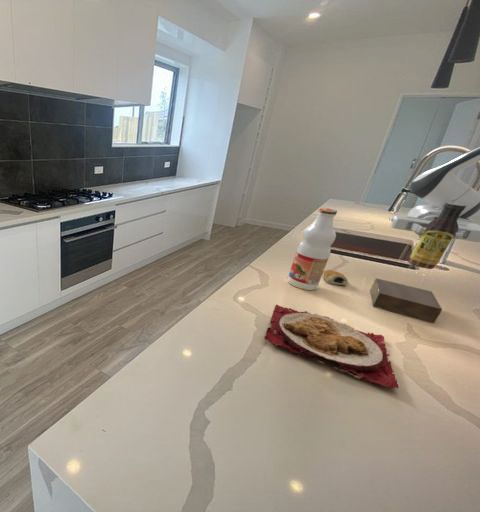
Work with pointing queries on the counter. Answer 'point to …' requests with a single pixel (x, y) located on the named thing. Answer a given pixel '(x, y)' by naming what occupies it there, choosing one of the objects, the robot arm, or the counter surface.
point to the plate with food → (332, 344)
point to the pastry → (334, 277)
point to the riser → (405, 300)
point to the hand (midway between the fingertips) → (440, 233)
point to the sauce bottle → (437, 237)
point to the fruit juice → (313, 251)
